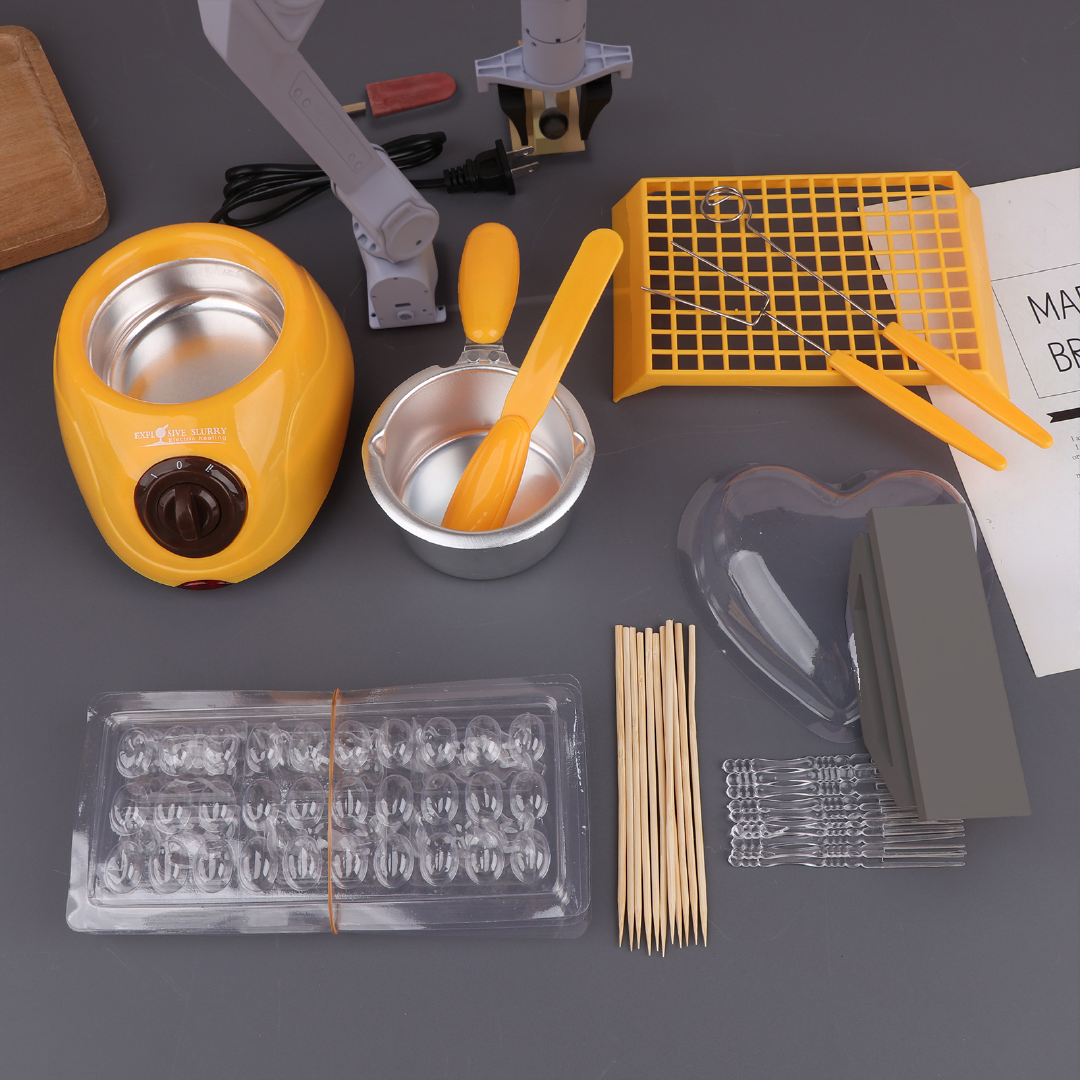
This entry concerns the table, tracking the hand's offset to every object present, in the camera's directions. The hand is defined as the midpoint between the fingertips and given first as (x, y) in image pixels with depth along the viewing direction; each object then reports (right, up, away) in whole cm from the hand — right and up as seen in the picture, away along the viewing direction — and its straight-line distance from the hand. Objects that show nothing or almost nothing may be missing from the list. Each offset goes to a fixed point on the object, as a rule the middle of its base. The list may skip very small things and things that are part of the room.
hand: (553, 135), depth 91 cm
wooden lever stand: (-1, +6, +10) cm, 12 cm away
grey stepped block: (+31, -54, -10) cm, 63 cm away
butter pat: (-1, +3, +8) cm, 9 cm away
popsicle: (-18, +9, +12) cm, 23 cm away
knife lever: (0, +4, +2) cm, 4 cm away
